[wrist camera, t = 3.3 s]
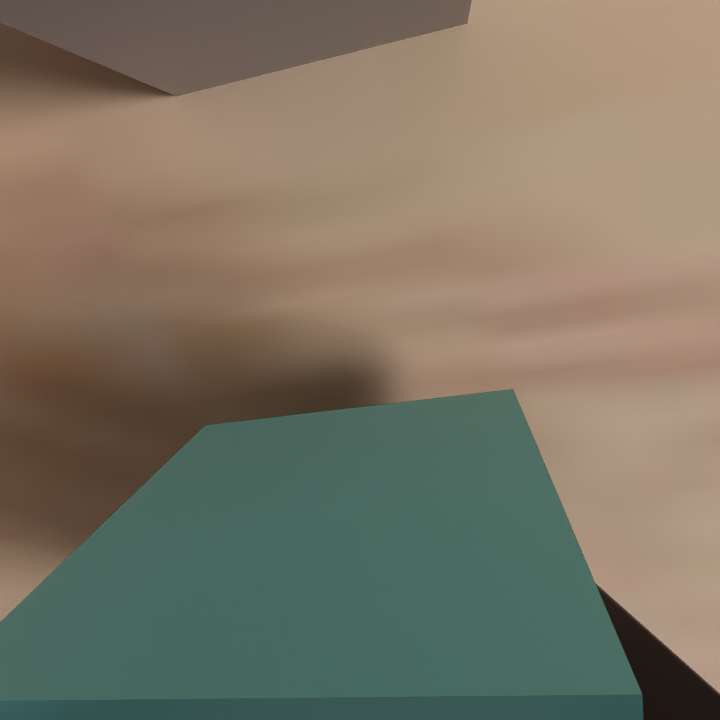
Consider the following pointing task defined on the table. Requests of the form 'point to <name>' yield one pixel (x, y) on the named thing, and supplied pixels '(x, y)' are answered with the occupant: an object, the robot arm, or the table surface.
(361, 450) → the teal cube
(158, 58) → the gray cube
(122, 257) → the table surface
